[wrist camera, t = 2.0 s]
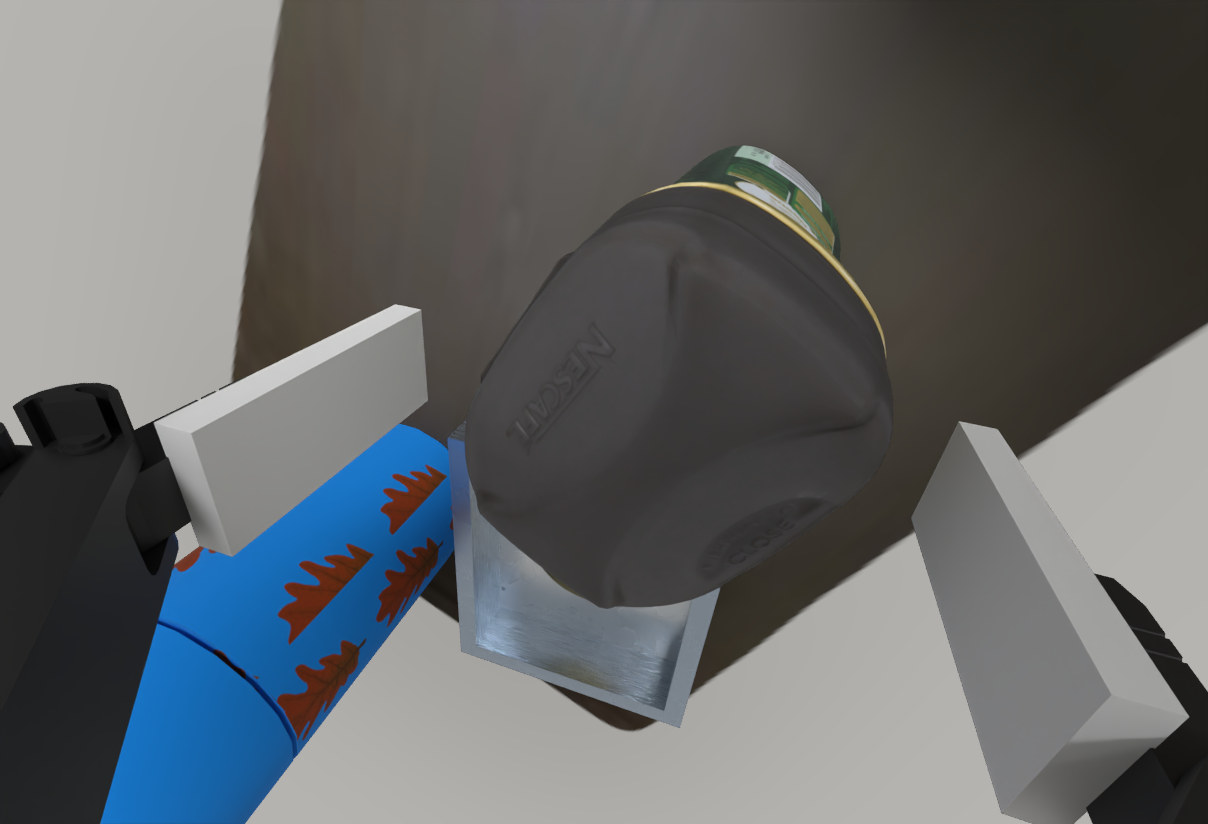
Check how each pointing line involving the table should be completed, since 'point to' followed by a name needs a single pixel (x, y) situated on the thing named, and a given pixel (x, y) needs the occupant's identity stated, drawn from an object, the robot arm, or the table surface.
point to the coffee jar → (684, 390)
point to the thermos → (279, 635)
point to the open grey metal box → (567, 620)
